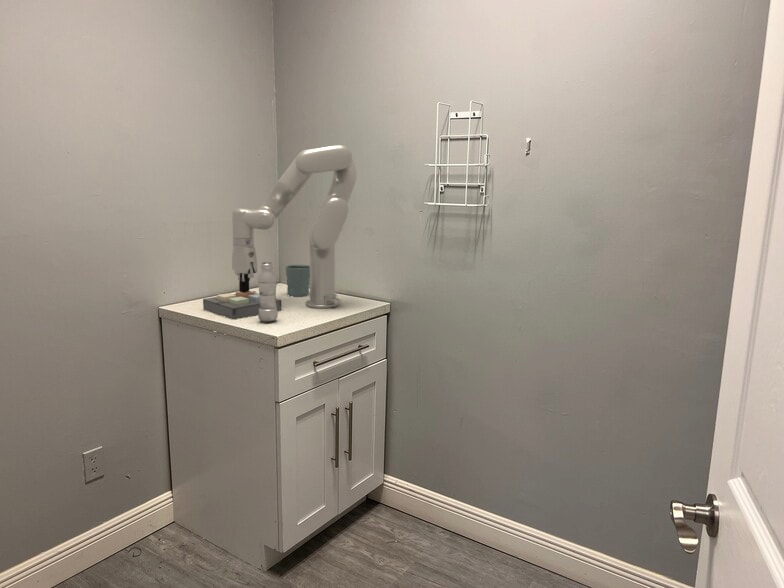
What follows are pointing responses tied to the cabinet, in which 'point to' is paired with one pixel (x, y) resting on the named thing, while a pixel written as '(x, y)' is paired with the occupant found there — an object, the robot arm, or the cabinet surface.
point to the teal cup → (298, 280)
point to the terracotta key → (244, 294)
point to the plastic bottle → (267, 293)
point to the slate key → (254, 297)
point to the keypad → (234, 308)
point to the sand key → (225, 297)
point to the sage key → (238, 300)
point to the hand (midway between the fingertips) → (244, 291)
